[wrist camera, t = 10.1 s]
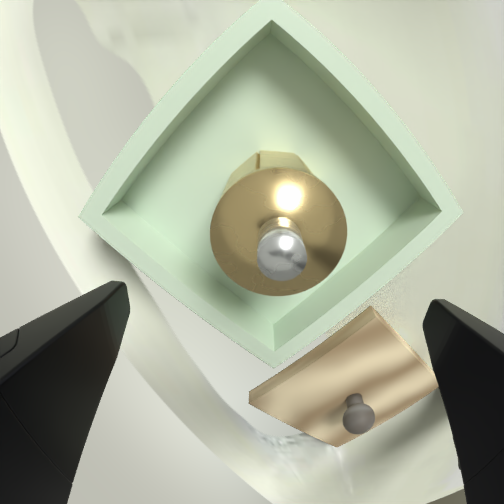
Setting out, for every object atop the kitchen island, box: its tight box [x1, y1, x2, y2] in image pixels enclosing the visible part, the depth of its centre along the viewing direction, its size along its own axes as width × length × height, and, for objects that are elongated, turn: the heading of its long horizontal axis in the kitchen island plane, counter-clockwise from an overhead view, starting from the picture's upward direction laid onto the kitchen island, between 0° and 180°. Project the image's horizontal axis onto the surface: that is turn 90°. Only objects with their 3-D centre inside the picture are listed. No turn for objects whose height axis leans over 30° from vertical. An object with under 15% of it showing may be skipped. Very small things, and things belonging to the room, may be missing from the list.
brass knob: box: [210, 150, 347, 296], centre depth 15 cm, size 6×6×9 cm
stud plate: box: [249, 306, 439, 447], centre depth 26 cm, size 14×14×6 cm
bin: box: [78, 0, 463, 368], centre depth 18 cm, size 16×16×4 cm
